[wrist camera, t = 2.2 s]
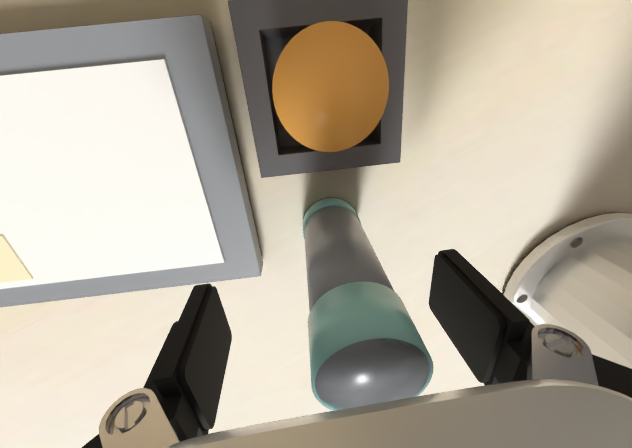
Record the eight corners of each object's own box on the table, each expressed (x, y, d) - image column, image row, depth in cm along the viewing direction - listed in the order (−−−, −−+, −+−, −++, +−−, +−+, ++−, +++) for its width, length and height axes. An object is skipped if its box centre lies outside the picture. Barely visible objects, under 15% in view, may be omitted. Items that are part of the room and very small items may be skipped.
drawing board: (210, 22, 13) (198, 12, 11) (263, 263, 19) (260, 279, 18) (-222, 64, 13) (-301, 61, 11) (-24, 297, 19) (-56, 317, 17)
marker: (357, 193, 17) (439, 327, 8) (358, 244, 19) (427, 407, 9) (298, 200, 17) (304, 344, 7) (305, 250, 19) (317, 422, 9)
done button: (372, 29, 11) (390, 14, 9) (372, 137, 13) (387, 146, 11) (268, 39, 11) (262, 27, 9) (283, 146, 13) (281, 157, 11)
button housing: (385, 5, 13) (408, -17, 10) (382, 150, 16) (400, 162, 14) (241, 19, 13) (227, 0, 10) (266, 163, 16) (261, 177, 13)
